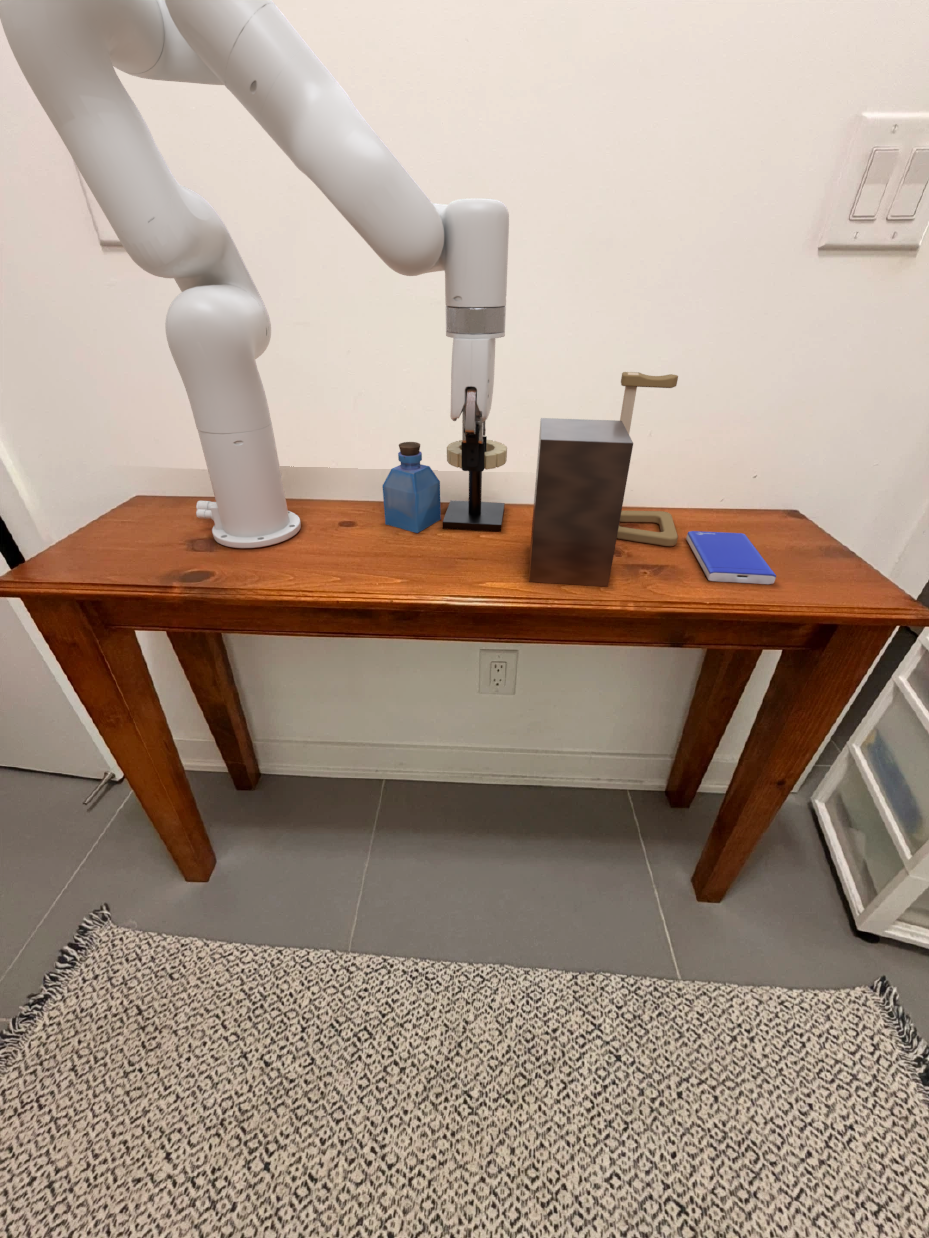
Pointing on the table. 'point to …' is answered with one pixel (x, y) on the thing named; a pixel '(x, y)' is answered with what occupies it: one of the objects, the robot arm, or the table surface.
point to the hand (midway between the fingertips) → (474, 466)
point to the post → (474, 510)
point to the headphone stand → (631, 383)
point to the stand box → (578, 500)
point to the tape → (493, 454)
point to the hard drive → (729, 558)
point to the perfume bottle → (411, 492)
